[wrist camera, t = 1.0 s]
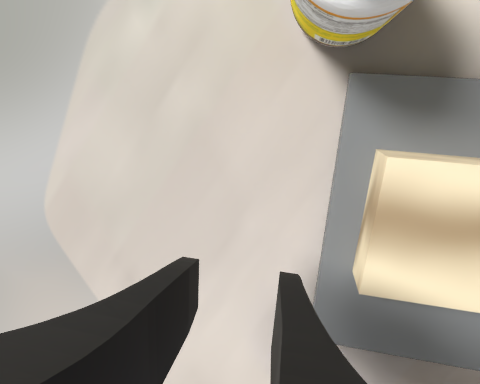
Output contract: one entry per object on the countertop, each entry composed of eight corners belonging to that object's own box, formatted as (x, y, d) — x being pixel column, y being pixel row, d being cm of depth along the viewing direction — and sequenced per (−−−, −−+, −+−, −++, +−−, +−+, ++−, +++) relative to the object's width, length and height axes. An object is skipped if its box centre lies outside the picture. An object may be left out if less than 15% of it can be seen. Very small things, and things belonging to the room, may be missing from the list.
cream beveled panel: (488, 291, 19) (515, 318, 16) (352, 271, 20) (359, 294, 18) (534, 162, 16) (573, 173, 14) (376, 149, 18) (387, 157, 15)
